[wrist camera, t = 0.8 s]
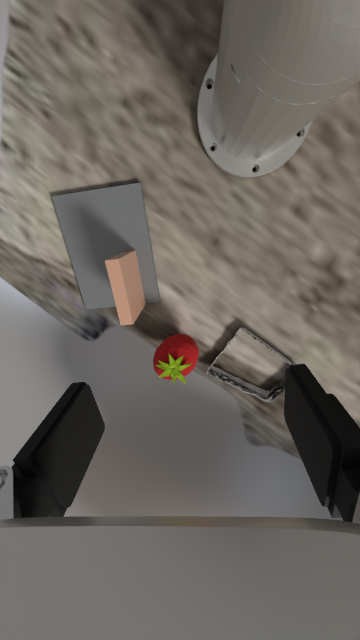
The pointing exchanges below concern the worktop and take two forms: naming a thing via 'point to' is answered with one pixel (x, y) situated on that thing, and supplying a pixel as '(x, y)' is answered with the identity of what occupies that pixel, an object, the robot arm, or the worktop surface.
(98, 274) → the mat
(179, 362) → the strawberry
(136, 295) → the tile
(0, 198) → the worktop surface
